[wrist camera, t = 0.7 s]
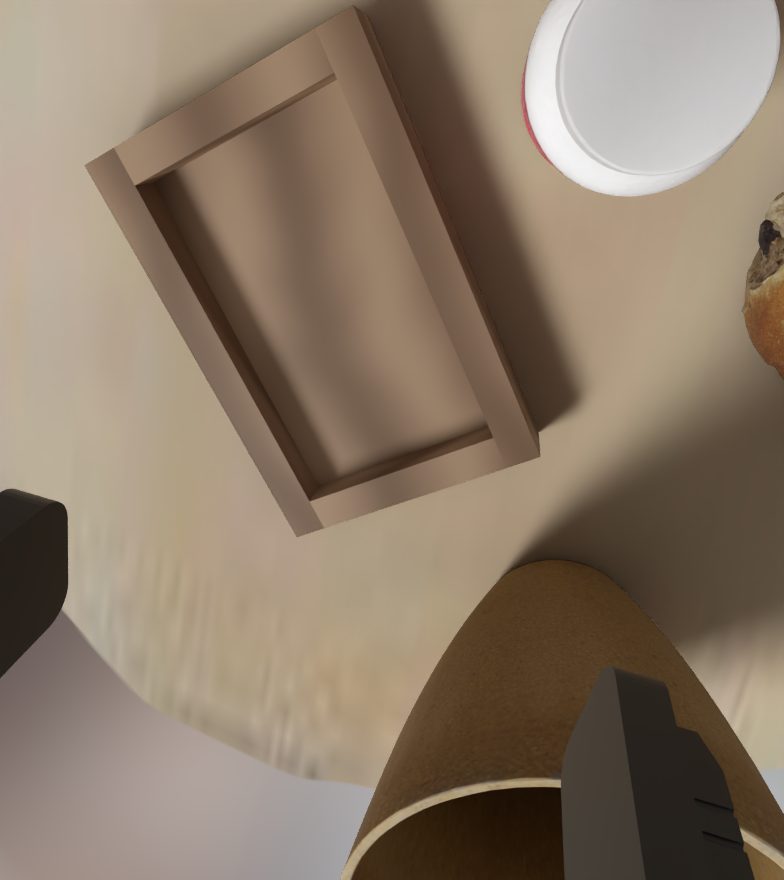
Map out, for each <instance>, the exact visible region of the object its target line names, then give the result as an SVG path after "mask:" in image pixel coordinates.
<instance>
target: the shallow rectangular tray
mask: <svg viewBox="0 0 784 880" xmlns="http://www.w3.org/2000/svg"><path fill="white" fill-rule="evenodd" d="M85 167H86V169H87V171H88V172H89V174H90V176H91V178H92V179H93V181H94V183H95V185H96V186H97V188H98V190H99V192H100V193H101V195H102V197H103V199H104V200H105V202H106V204H107V206H108V207H109V209H110V211H111V213H112V214H113V216H114V218H115V220H116V221H117V223H118V225H119V227H120V228H121V230H122V232H123V234H124V235H125V237H126V239H127V241H128V242H129V244H130V246H131V248H132V249H133V251H134V253H135V255H136V256H137V258H138V260H139V262H140V263H141V265H142V267H143V269H144V270H145V272H146V274H147V276H148V277H149V279H150V281H151V283H152V284H153V286H154V288H155V290H156V291H157V293H158V295H159V297H160V298H161V300H162V302H163V304H164V305H165V307H166V309H167V311H168V312H169V314H170V316H171V318H172V319H173V321H174V323H175V325H176V326H177V328H178V330H179V332H180V333H181V335H182V337H183V339H184V340H185V342H186V344H187V346H188V347H189V349H190V351H191V353H192V354H193V356H194V358H195V360H196V361H197V363H198V365H199V367H200V368H201V370H202V372H203V374H204V375H205V377H206V379H207V381H208V382H209V384H210V386H211V388H212V389H213V391H214V393H215V395H216V396H217V398H218V400H219V402H220V403H221V405H222V407H223V409H224V410H225V412H226V414H227V416H228V417H229V419H230V421H231V423H232V424H233V426H234V428H235V430H236V431H237V433H238V435H239V437H240V438H241V440H242V442H243V444H244V445H245V447H246V449H247V451H248V452H249V454H250V456H251V458H252V459H253V461H254V463H255V465H256V466H257V468H258V470H259V472H260V473H261V475H262V477H263V479H264V480H265V482H266V484H267V486H268V487H269V489H270V491H271V493H272V494H273V496H274V498H275V500H276V501H277V503H278V505H279V507H280V508H281V510H282V512H283V514H284V515H285V517H286V519H287V521H288V522H289V524H290V526H291V528H292V529H293V531H294V533H295V535H296V536H297V537H299V536H302V535H305V534H308V533H311V532H314V531H317V530H320V529H323V528H326V527H329V526H332V525H335V524H338V523H341V522H344V521H347V520H350V519H353V518H356V517H359V516H362V515H365V514H368V513H371V512H375V511H378V510H381V509H384V508H387V507H390V506H393V505H396V504H399V503H402V502H405V501H408V500H411V499H414V498H417V497H420V496H423V495H426V494H429V493H432V492H435V491H438V490H441V489H444V488H447V487H450V486H453V485H456V484H459V483H462V482H465V481H468V480H471V479H474V478H477V477H480V476H483V475H487V474H490V473H493V472H496V471H499V470H502V469H505V468H508V467H511V466H514V465H517V464H520V463H523V462H526V461H529V460H532V459H535V458H538V457H540V445H539V433H538V430H537V428H536V425H535V423H534V421H533V418H532V416H531V413H530V411H529V408H528V406H527V404H526V401H525V399H524V396H523V394H522V391H521V389H520V386H519V384H518V382H517V379H516V377H515V374H514V372H513V369H512V367H511V365H510V362H509V360H508V357H507V355H506V352H505V350H504V347H503V345H502V343H501V340H500V338H499V335H498V333H497V330H496V328H495V326H494V323H493V321H492V318H491V316H490V313H489V311H488V309H487V306H486V304H485V301H484V299H483V296H482V294H481V291H480V289H479V287H478V284H477V282H476V279H475V277H474V274H473V272H472V270H471V267H470V265H469V262H468V260H467V257H466V255H465V252H464V250H463V248H462V245H461V243H460V240H459V238H458V235H457V233H456V231H455V228H454V226H453V223H452V221H451V218H450V216H449V214H448V211H447V209H446V206H445V204H444V201H443V199H442V196H441V194H440V192H439V189H438V187H437V184H436V182H435V179H434V177H433V175H432V172H431V170H430V167H429V165H428V162H427V160H426V157H425V155H424V153H423V150H422V148H421V145H420V143H419V140H418V138H417V136H416V133H415V131H414V128H413V126H412V123H411V121H410V119H409V116H408V114H407V111H406V109H405V106H404V104H403V101H402V99H401V97H400V94H399V92H398V89H397V87H396V84H395V82H394V80H393V77H392V75H391V72H390V70H389V67H388V65H387V63H386V60H385V58H384V55H383V53H382V50H381V48H380V45H379V43H378V41H377V38H376V36H375V33H374V31H373V28H372V26H371V24H370V21H369V19H368V16H366V15H365V14H364V13H363V12H361V11H360V10H359V9H357V8H356V7H355V6H351V7H350V8H348V9H346V10H345V11H343V12H341V13H339V14H338V15H336V16H334V17H333V18H331V19H329V20H328V21H326V22H324V23H323V24H321V25H319V26H318V27H316V28H314V29H313V30H311V31H309V32H308V33H306V34H304V35H303V36H301V37H299V38H297V39H296V40H294V41H292V42H291V43H289V44H287V45H286V46H284V47H282V48H281V49H279V50H277V51H276V52H274V53H272V54H271V55H269V56H267V57H266V58H264V59H262V60H261V61H259V62H257V63H255V64H254V65H252V66H250V67H249V68H247V69H245V70H244V71H242V72H240V73H239V74H237V75H235V76H234V77H232V78H230V79H229V80H227V81H225V82H224V83H222V84H220V85H219V86H217V87H215V88H213V89H212V90H210V91H208V92H207V93H205V94H203V95H202V96H200V97H198V98H197V99H195V100H193V101H192V102H190V103H188V104H187V105H185V106H183V107H182V108H180V109H178V110H177V111H175V112H173V113H171V114H170V115H168V116H166V117H165V118H163V119H161V120H160V121H158V122H156V123H155V124H153V125H151V126H150V127H148V128H146V129H145V130H143V131H141V132H140V133H138V134H136V135H135V136H133V137H131V138H129V139H128V140H126V141H124V142H123V143H121V144H119V145H118V146H116V147H114V148H113V149H111V150H109V151H108V152H106V153H104V154H103V155H101V156H99V157H98V158H96V159H94V160H93V161H91V162H89V163H88V164H86V165H85Z"/></svg>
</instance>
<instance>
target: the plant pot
mask: <svg viewBox="0 0 784 880" xmlns="http://www.w3.org/2000/svg"><path fill="white" fill-rule="evenodd" d="M609 665H610V666H613V667H617V668H620V669H624V670H627V671H630V672H634V673H637V674H641V675H644V676H647V677H651V678H654V679H658V680H661V681H663V682H664V683H665V684H666V686H667V688H668V691H669V695H670V699H671V703H672V708H673V712H674V716H675V720H676V724H677V726H678V727H682V728H685V729H688V730H692V731H695V732H698V734H699V735H700V737H701V738H702V740H703V741H704V743H705V744H706V746H707V747H708V749H709V750H710V752H711V753H712V755H713V756H714V758H715V759H716V761H717V762H718V764H719V765H720V767H721V768H722V770H723V772H724V776H725V779H726V783H727V786H728V789H729V793H730V796H731V800H732V803H733V806H734V817H735V818H737V820H738V823H739V827H740V830H741V834H742V837H743V841H744V847H743V850H744V852H746V853H747V854H748V858H749V861H750V864H751V868H752V871H753V875H754V878H755V880H784V814H783V812H782V810H781V809H780V807H779V805H778V804H777V802H776V800H775V798H774V797H773V795H772V793H771V791H770V790H769V788H768V786H767V784H766V783H765V781H764V779H763V778H762V776H761V774H760V772H759V771H758V769H757V767H756V766H755V764H754V762H753V761H752V759H751V758H750V756H749V755H748V753H747V751H746V750H745V748H744V747H743V745H742V744H741V742H740V740H739V739H738V737H737V736H736V734H735V733H734V731H733V730H732V728H731V726H730V725H729V723H728V722H727V720H726V719H725V717H724V716H723V714H722V713H721V711H720V710H719V708H718V707H717V705H716V704H715V702H714V701H713V699H712V698H711V696H710V695H709V693H708V692H707V691H706V689H705V688H704V686H703V685H702V684H701V682H700V681H699V679H698V678H697V677H696V675H695V674H694V672H693V671H692V670H691V668H690V667H689V666H688V664H687V663H686V661H685V660H684V659H683V658H682V656H681V655H680V654H679V652H678V651H677V650H676V649H675V647H674V646H673V645H672V644H671V643H670V641H669V640H668V639H667V638H666V636H665V635H664V634H663V633H662V632H661V630H660V629H659V628H658V627H657V626H656V625H655V623H654V622H653V621H652V620H651V619H650V618H649V617H648V616H647V615H646V614H645V612H644V611H643V610H642V609H641V608H640V607H639V606H638V605H637V604H636V603H635V602H634V601H633V600H632V599H631V598H630V597H629V596H628V595H627V594H626V593H625V592H624V591H623V590H622V589H621V588H620V587H619V586H618V585H617V584H616V583H615V582H614V581H613V580H612V579H610V578H609V577H608V576H606V575H605V574H603V573H602V572H600V571H598V570H596V569H594V568H592V567H590V566H587V565H584V564H580V563H577V562H572V561H565V560H544V561H537V562H532V563H528V564H526V565H523V566H521V567H519V568H516V569H514V570H512V571H511V572H509V573H507V574H506V575H505V576H503V577H502V578H501V579H500V580H499V581H498V582H497V583H496V584H495V585H494V586H493V587H492V589H491V590H490V591H489V592H488V593H487V594H486V596H485V597H484V598H483V599H482V601H481V602H480V603H479V604H478V605H477V607H476V608H475V609H474V611H473V612H472V613H471V615H470V616H469V617H468V619H467V620H466V621H465V623H464V624H463V626H462V627H461V628H460V630H459V631H458V633H457V634H456V636H455V637H454V639H453V640H452V642H451V643H450V645H449V646H448V648H447V650H446V651H445V653H444V654H443V656H442V657H441V659H440V661H439V662H438V664H437V666H436V667H435V669H434V671H433V673H432V674H431V676H430V678H429V680H428V681H427V683H426V685H425V686H424V688H423V690H422V692H421V694H420V696H419V698H418V699H417V701H416V703H415V705H414V707H413V709H412V711H411V713H410V715H409V717H408V719H407V721H406V723H405V725H404V727H403V729H402V731H401V733H400V735H399V737H398V740H397V742H396V744H395V746H394V749H393V751H392V753H391V755H390V758H389V760H388V762H387V764H386V767H385V769H384V771H383V774H382V776H381V778H380V781H379V783H378V786H377V788H376V790H375V793H374V795H373V798H372V800H371V802H370V805H369V807H368V810H367V812H366V814H365V817H364V819H363V822H362V824H361V827H360V829H359V832H358V834H357V837H356V839H355V842H354V845H353V847H352V850H351V852H350V855H349V857H348V860H347V862H346V865H345V868H344V870H343V873H342V875H341V879H340V880H565V875H564V851H563V826H562V802H561V774H562V766H563V760H564V755H565V751H566V748H567V744H568V741H569V739H570V737H571V734H572V732H573V730H574V728H575V726H576V724H577V722H578V720H579V718H580V715H581V713H582V711H583V709H584V707H585V705H586V703H587V701H588V698H589V696H590V694H591V692H592V690H593V688H594V686H595V684H596V681H597V679H598V677H599V675H600V673H601V672H602V670H603V669H604V668H605V667H606V666H609Z"/></svg>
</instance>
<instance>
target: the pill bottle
mask: <svg viewBox="0 0 784 880" xmlns="http://www.w3.org/2000/svg"><path fill="white" fill-rule="evenodd" d="M780 39H781V38H780V21H779V15H778V9H777V6H776V3H775V0H551V1H550V3H549V5H548V7H547V8H546V10H545V12H544V13H543V15H542V17H541V18H540V21H539V22H538V25H537V28H536V31H535V34H534V36H533V39H532V42H531V45H530V48H529V51H528V56H527V60H526V64H525V68H524V73H523V78H522V86H521V105H522V113H523V118H524V122H525V125H526V128H527V131H528V133H529V136H530V138H531V140H532V141H533V143H534V145H535V146H536V148H537V149H538V151H539V152H540V153H541V154H542V156H543V157H544V158H545V159H546V160H547V161H548V162H549V163H550V164H552V165H553V166H554V167H555V168H556V169H558V170H559V171H560V172H561V173H562V174H564V175H565V176H566V177H568V178H569V179H571V180H572V181H574V182H575V183H577V184H578V185H580V186H583V187H585V188H588V189H590V190H593V191H596V192H600V193H603V194H608V195H614V196H642V195H648V194H654V193H657V192H661V191H665V190H668V189H671V188H673V187H676V186H678V185H680V184H683V183H685V182H687V181H689V180H691V179H692V178H694V177H696V176H697V175H699V174H700V173H702V172H703V171H705V170H706V169H707V168H709V167H710V166H711V165H713V164H714V163H715V162H716V161H717V160H719V159H720V158H721V157H722V156H723V155H724V154H725V153H726V152H727V151H728V150H729V149H730V148H731V147H732V145H733V144H734V143H735V142H736V141H737V139H738V138H739V137H740V135H741V134H742V133H743V131H744V130H745V128H746V127H747V125H748V124H749V123H750V122H751V120H752V119H753V118H754V116H755V115H756V113H757V112H758V110H759V108H760V106H761V105H762V103H763V101H764V99H765V97H766V95H767V93H768V91H769V89H770V86H771V83H772V81H773V78H774V74H775V71H776V67H777V63H778V57H779V51H780Z"/></svg>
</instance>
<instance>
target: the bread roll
mask: <svg viewBox="0 0 784 880" xmlns="http://www.w3.org/2000/svg"><path fill="white" fill-rule="evenodd" d="M759 245H760V248H759V250H758V252H757V254H756V256H755V258H754V260H753V263H752V266H751V267H750V268H749V270H748V275H747V281H746V292H745V305H744V306H743V308H742V312H743V313H744V316H745V323H746V327H747V330H748V333H749V336H750V339H751V341H752V343H753V345H754V347H755V348H756V350H757V351H758V352H759V354H760V355H761V357H762V358H763V359H764V361H765V362H766V363H767V364H768V365H772V366H774V367H776V369H777V370H778V373H779V375H780V376H781V377H782V378H783V379H784V192H782V193H781V194H779V195H778V196H777V197H776V198H775V199H774V200H773V202H772V203H770V209H769V210H768V211H767V213H766V218H765V221H764V222H763V223H762V224H761V225H760V231H759Z"/></svg>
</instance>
